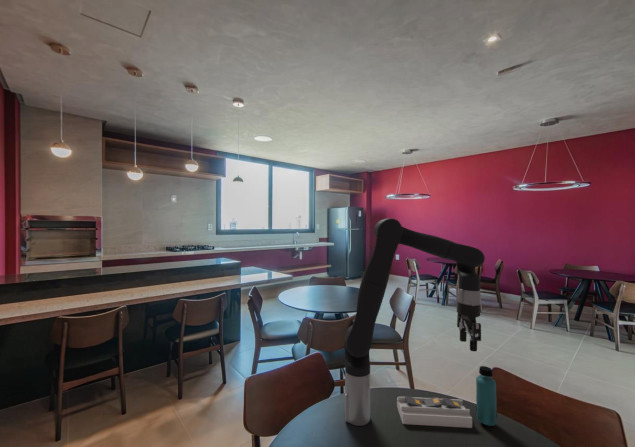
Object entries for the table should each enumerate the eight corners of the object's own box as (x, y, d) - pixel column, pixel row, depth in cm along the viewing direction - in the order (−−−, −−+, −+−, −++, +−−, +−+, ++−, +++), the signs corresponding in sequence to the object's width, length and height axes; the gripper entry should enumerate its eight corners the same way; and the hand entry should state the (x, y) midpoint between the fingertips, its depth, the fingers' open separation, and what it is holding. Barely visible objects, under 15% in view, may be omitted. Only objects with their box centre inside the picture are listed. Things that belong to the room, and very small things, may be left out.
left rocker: (407, 404, 105) (408, 401, 105) (404, 397, 109) (405, 395, 109) (421, 409, 104) (422, 406, 104) (418, 402, 109) (419, 399, 109)
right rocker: (446, 406, 104) (447, 403, 104) (442, 399, 108) (443, 396, 108) (461, 411, 103) (461, 408, 103) (456, 403, 108) (456, 401, 108)
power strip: (402, 423, 102) (402, 409, 102) (397, 406, 112) (397, 393, 112) (472, 427, 100) (472, 413, 100) (460, 409, 110) (460, 396, 110)
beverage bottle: (500, 431, 98) (500, 373, 99) (479, 429, 100) (479, 371, 100) (492, 419, 105) (492, 364, 105) (473, 416, 106) (472, 362, 106)
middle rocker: (427, 409, 104) (427, 406, 104) (424, 402, 108) (423, 399, 109) (441, 406, 104) (441, 403, 104) (437, 399, 108) (437, 396, 108)
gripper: (450, 296, 112) (450, 337, 112) (466, 306, 98) (465, 353, 97) (470, 297, 111) (469, 339, 111) (489, 307, 97) (488, 355, 97)
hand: (467, 345), depth 104 cm, fingers open, 8 cm apart
